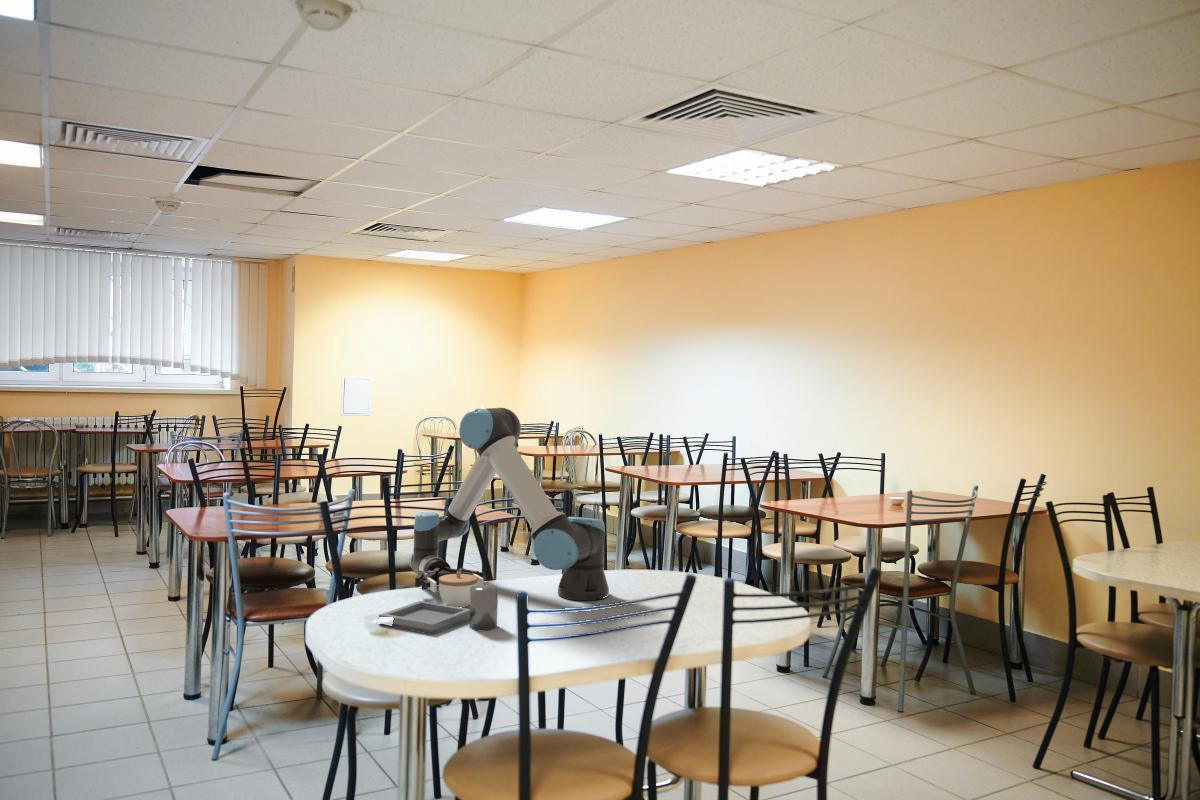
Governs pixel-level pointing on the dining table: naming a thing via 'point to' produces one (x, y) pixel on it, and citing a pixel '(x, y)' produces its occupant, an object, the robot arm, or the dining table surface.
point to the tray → (427, 616)
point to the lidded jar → (456, 589)
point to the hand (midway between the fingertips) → (459, 585)
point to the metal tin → (483, 607)
